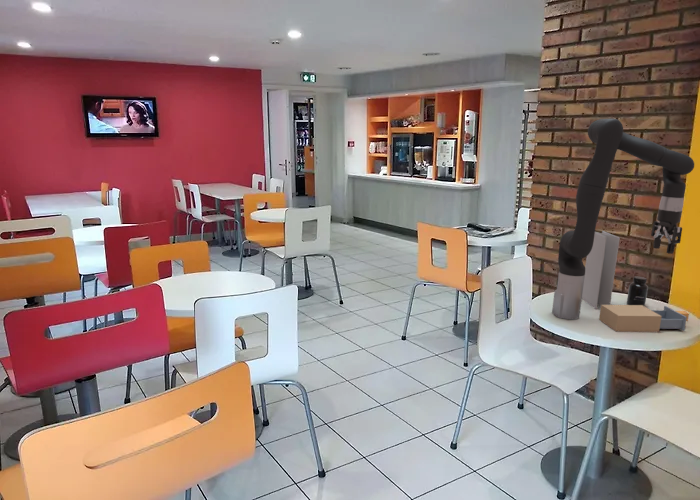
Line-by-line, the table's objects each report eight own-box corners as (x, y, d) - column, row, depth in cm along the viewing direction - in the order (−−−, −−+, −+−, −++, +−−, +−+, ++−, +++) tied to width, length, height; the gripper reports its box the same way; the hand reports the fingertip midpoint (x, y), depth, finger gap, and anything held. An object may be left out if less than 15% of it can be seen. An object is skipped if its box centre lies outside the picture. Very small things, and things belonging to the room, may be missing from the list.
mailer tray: (641, 330, 186) (643, 316, 185) (623, 318, 198) (625, 305, 197) (695, 331, 187) (697, 317, 186) (673, 319, 199) (676, 306, 197)
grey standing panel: (609, 309, 209) (620, 237, 203) (596, 309, 209) (606, 237, 203) (593, 298, 223) (603, 230, 217) (581, 298, 223) (590, 230, 217)
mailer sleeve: (615, 331, 186) (618, 315, 185) (599, 319, 198) (601, 304, 196) (659, 331, 186) (661, 316, 185) (639, 320, 198) (642, 305, 197)
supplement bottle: (637, 308, 212) (641, 280, 209) (622, 303, 218) (626, 276, 215) (648, 306, 214) (653, 279, 212) (634, 301, 220) (638, 274, 218)
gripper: (649, 205, 200) (642, 246, 204) (672, 211, 186) (664, 254, 190) (668, 206, 200) (661, 247, 204) (692, 212, 186) (684, 255, 190)
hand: (662, 250), depth 197 cm, fingers open, 8 cm apart
